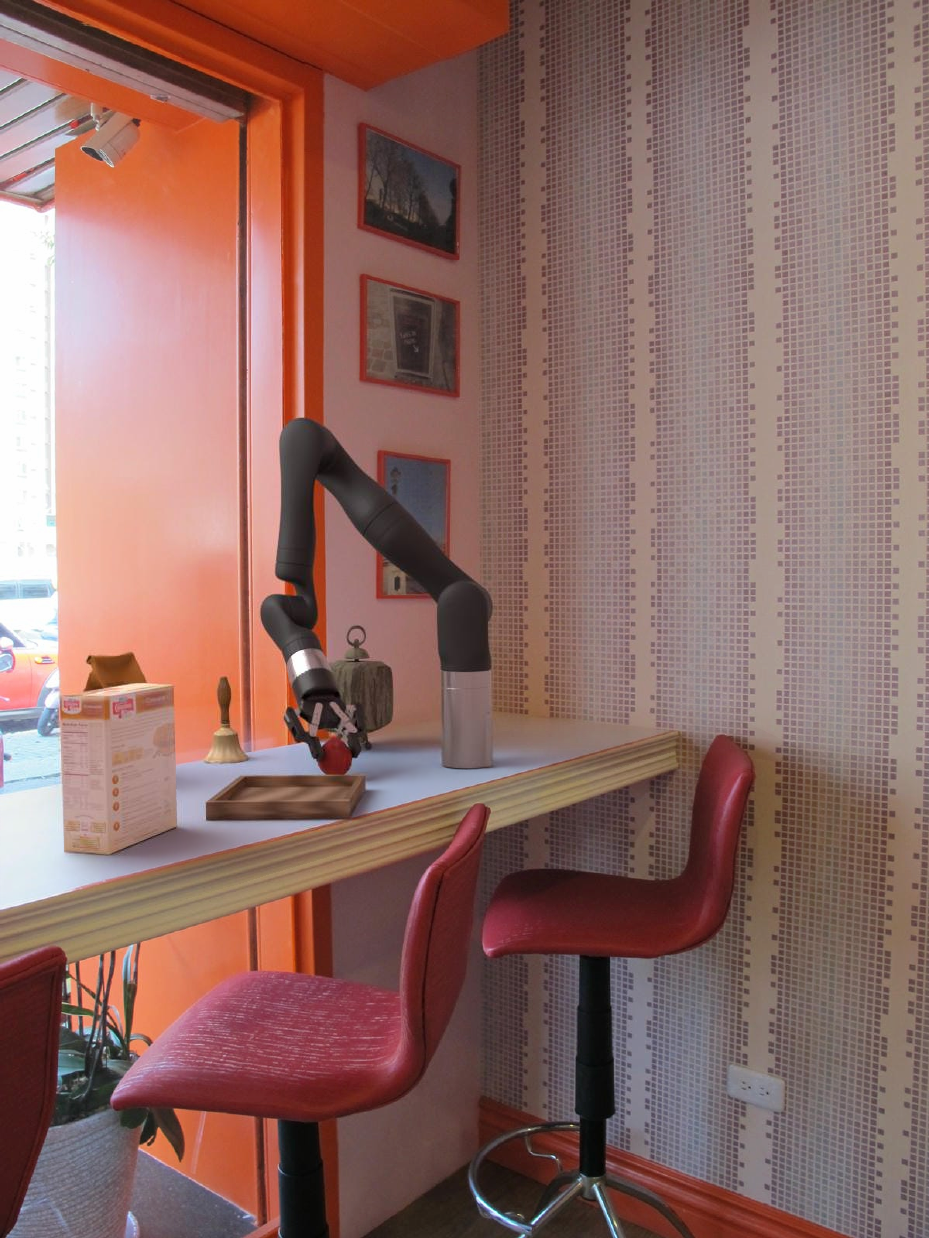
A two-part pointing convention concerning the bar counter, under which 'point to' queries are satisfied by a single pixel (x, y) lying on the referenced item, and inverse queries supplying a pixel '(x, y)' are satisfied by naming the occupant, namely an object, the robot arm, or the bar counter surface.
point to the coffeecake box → (117, 766)
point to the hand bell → (225, 732)
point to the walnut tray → (287, 797)
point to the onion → (335, 757)
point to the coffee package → (113, 671)
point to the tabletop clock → (364, 687)
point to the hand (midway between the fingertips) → (338, 756)
